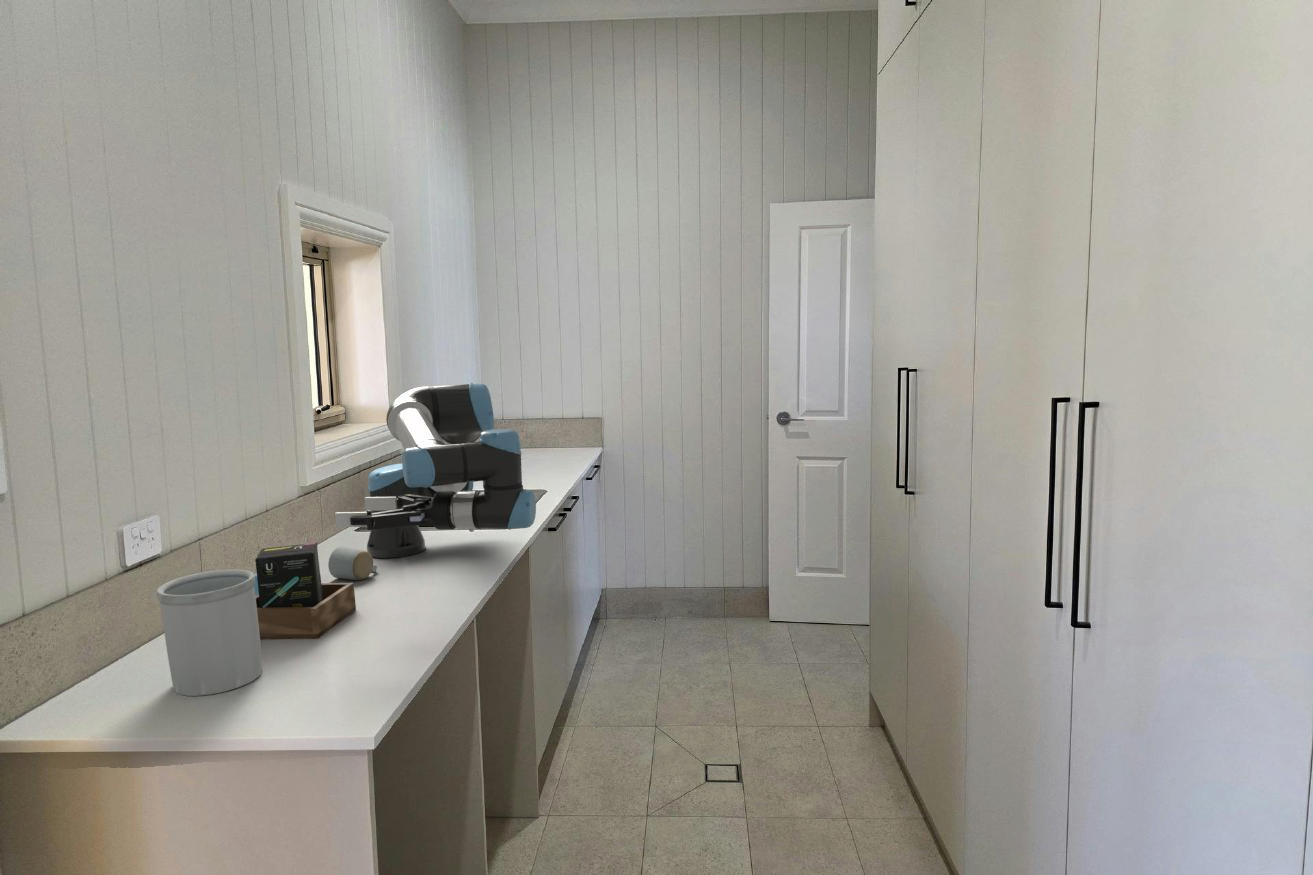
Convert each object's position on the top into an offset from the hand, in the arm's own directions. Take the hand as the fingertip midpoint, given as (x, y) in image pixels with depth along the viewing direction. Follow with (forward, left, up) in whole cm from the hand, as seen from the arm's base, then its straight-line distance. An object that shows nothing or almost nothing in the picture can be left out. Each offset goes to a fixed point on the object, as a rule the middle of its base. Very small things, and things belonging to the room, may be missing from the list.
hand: (351, 511), depth 169 cm
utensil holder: (+27, -14, -24) cm, 39 cm away
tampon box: (-1, -14, -23) cm, 27 cm away
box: (-1, -14, -23) cm, 27 cm away
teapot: (-19, -28, -24) cm, 41 cm away
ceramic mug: (-35, -16, -24) cm, 45 cm away
